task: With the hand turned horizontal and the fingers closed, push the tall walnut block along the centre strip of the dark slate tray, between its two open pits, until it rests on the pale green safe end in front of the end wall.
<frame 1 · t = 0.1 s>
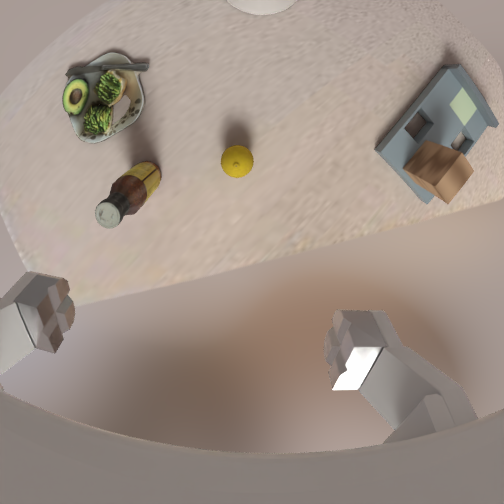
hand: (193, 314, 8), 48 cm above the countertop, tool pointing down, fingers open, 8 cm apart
lemon: (238, 157, 53), on the countertop
salad plate: (102, 97, 46), on the countertop
block: (420, 161, 49), point 3 cm above the countertop, touching deck
sauce bottle: (148, 176, 54), on the countertop
deck: (434, 132, 49), on the countertop
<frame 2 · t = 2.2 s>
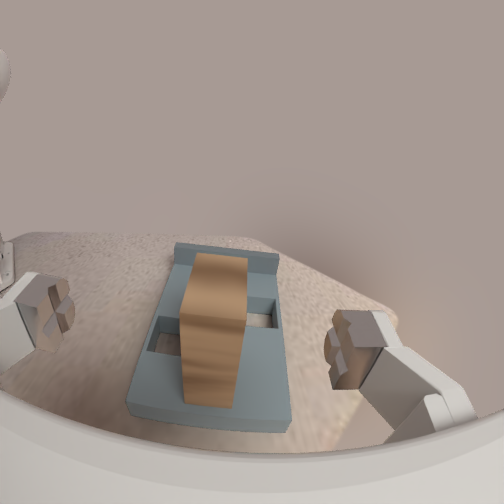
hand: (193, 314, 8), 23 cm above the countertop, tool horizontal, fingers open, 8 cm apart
block: (211, 374, 29), point 3 cm above the countertop, touching deck
deck: (216, 339, 37), on the countertop
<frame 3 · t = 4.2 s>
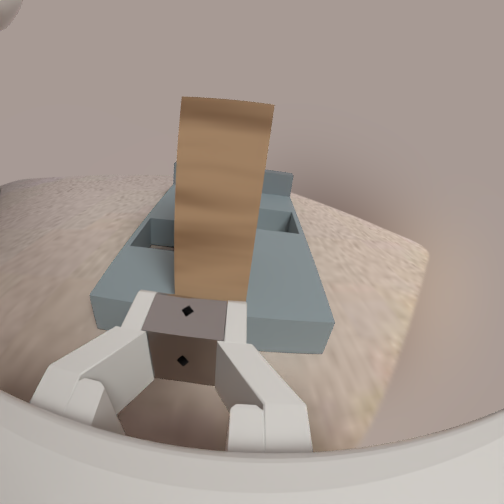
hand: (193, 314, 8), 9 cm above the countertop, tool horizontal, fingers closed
block: (215, 268, 22), point 3 cm above the countertop, touching deck
deck: (221, 252, 30), on the countertop
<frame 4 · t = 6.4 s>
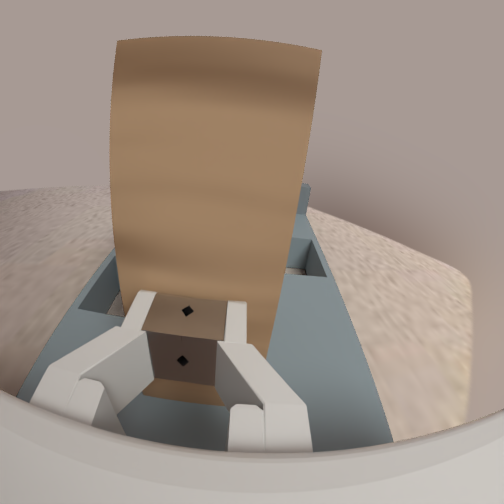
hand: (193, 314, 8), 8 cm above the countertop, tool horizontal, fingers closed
block: (207, 336, 14), point 3 cm above the countertop
deck: (216, 302, 21), on the countertop
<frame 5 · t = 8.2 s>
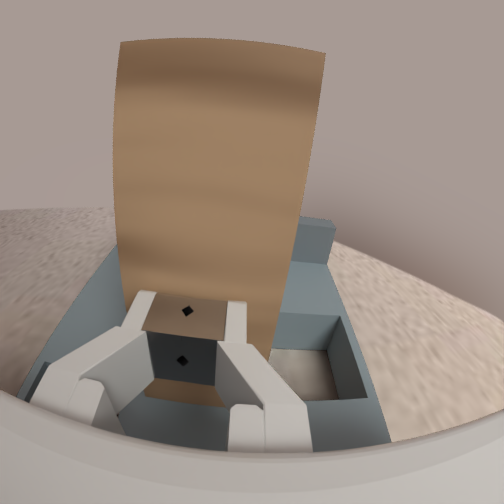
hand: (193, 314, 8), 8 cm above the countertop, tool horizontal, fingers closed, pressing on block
block: (208, 337, 14), point 3 cm above the countertop, touching gripper
deck: (199, 426, 12), on the countertop
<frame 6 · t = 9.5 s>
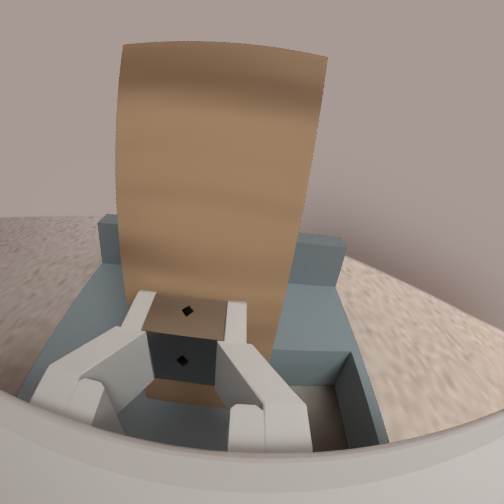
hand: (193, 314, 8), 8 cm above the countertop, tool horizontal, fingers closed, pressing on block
block: (209, 338, 14), point 3 cm above the countertop, touching deck, gripper
deck: (192, 477, 10), on the countertop
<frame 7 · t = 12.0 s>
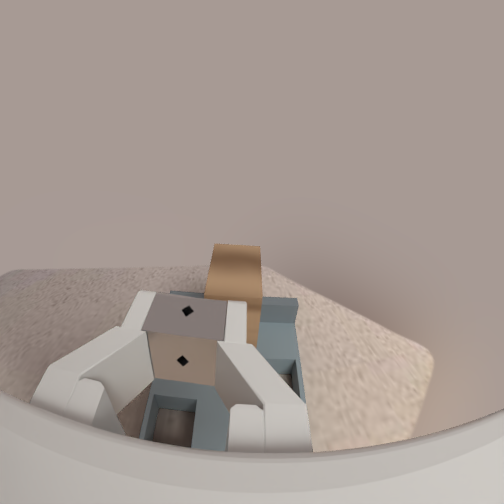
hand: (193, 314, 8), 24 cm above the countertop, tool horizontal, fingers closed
block: (231, 354, 32), point 3 cm above the countertop, touching deck
deck: (226, 414, 28), on the countertop
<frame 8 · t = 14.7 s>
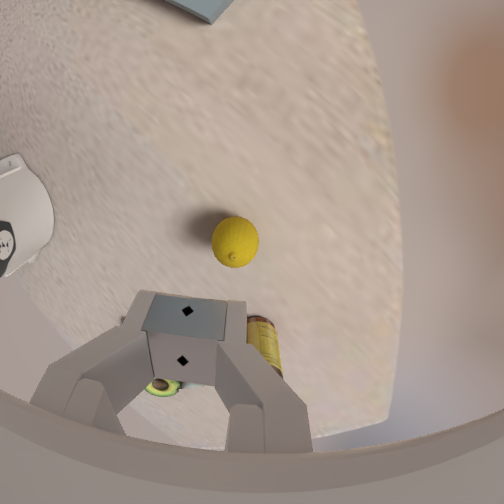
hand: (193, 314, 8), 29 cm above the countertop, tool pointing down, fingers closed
lemon: (236, 226, 39), on the countertop
salad plate: (164, 358, 52), on the countertop
sauce bottle: (257, 327, 47), on the countertop
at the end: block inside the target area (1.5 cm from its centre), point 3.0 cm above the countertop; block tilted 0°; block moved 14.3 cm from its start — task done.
